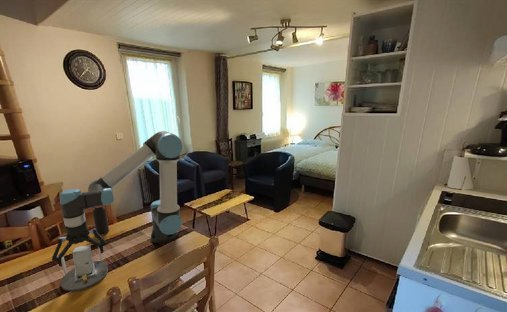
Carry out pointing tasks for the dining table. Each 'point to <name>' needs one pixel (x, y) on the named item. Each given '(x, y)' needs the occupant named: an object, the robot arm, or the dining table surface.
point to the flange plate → (91, 281)
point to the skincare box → (83, 260)
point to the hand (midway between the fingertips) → (83, 265)
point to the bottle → (100, 220)
